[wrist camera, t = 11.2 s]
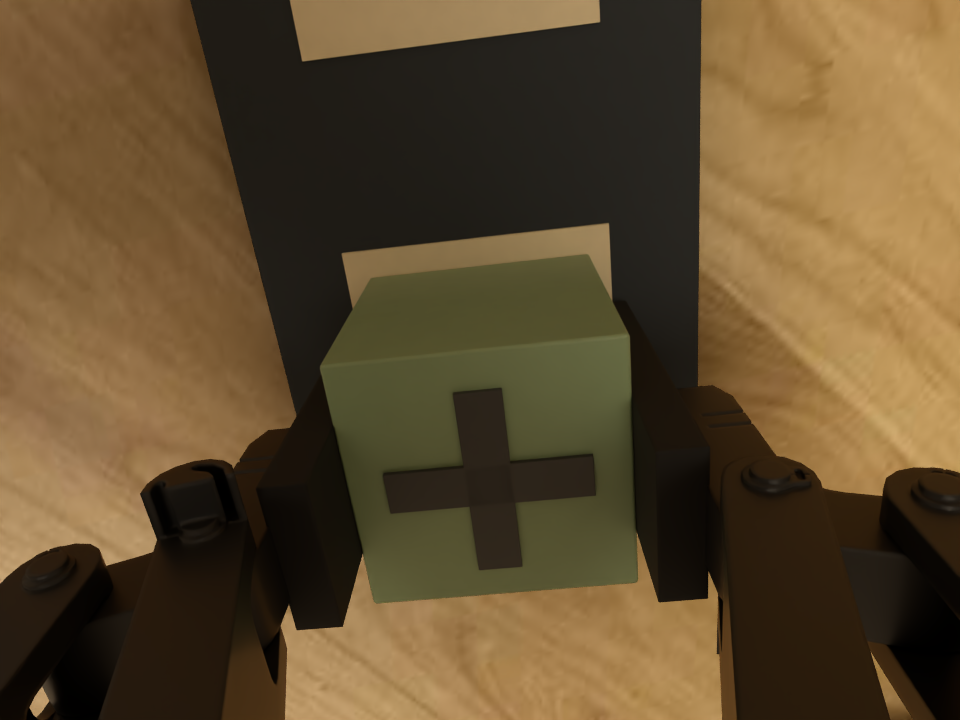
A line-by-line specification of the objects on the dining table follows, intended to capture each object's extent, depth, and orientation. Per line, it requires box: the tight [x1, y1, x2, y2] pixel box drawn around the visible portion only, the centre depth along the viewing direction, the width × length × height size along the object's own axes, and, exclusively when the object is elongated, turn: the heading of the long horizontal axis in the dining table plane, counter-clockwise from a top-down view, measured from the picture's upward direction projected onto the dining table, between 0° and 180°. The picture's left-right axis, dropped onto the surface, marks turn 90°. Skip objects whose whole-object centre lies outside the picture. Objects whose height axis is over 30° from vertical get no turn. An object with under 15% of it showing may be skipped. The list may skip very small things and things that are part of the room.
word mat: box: [191, 0, 701, 415], centre depth 15 cm, size 20×10×1 cm, turn 7°
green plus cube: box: [320, 254, 638, 603], centre depth 14 cm, size 5×5×5 cm
